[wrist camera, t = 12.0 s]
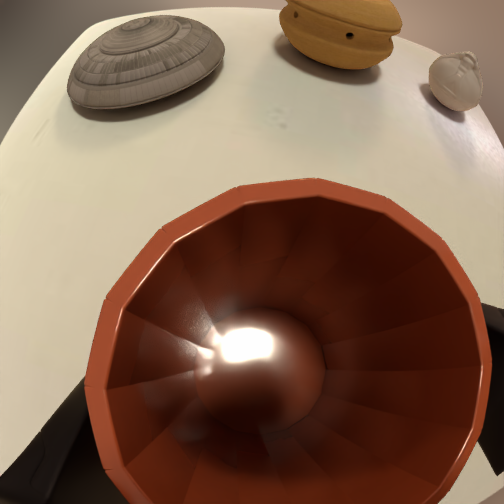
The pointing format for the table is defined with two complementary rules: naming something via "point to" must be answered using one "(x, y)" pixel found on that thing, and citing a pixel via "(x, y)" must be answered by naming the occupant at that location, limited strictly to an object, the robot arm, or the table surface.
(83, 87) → the flying saucer
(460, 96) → the figurine
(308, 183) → the tumbler
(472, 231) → the table surface
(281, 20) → the pot
